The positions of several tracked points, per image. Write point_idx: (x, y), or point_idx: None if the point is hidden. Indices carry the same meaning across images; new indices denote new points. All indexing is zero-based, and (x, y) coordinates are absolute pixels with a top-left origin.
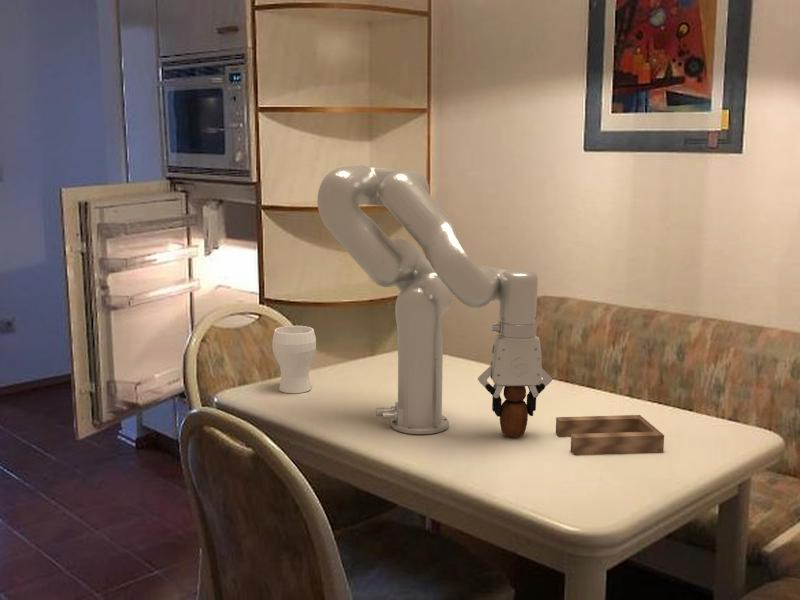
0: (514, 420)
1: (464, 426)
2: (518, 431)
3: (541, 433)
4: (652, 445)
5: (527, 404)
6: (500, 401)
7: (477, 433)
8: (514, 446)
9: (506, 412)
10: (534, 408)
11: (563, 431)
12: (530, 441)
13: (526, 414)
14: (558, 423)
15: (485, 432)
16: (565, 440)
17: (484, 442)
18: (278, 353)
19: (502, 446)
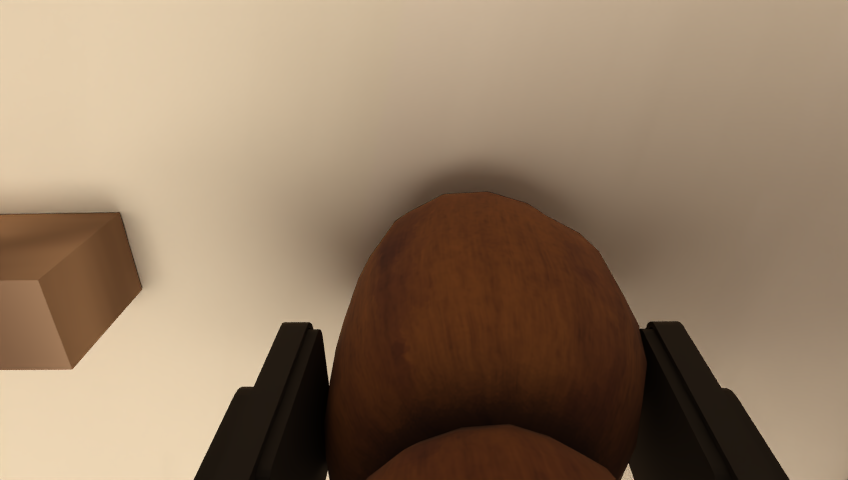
0: (510, 226)
1: None
2: (453, 196)
3: (247, 293)
4: None
5: (314, 477)
6: (723, 448)
7: (720, 323)
8: (525, 4)
9: (611, 309)
10: (247, 398)
11: (58, 230)
12: (357, 126)
13: (358, 308)
14: (67, 283)
15: None
16: (65, 131)
17: (752, 127)
18: None
19: (634, 11)
